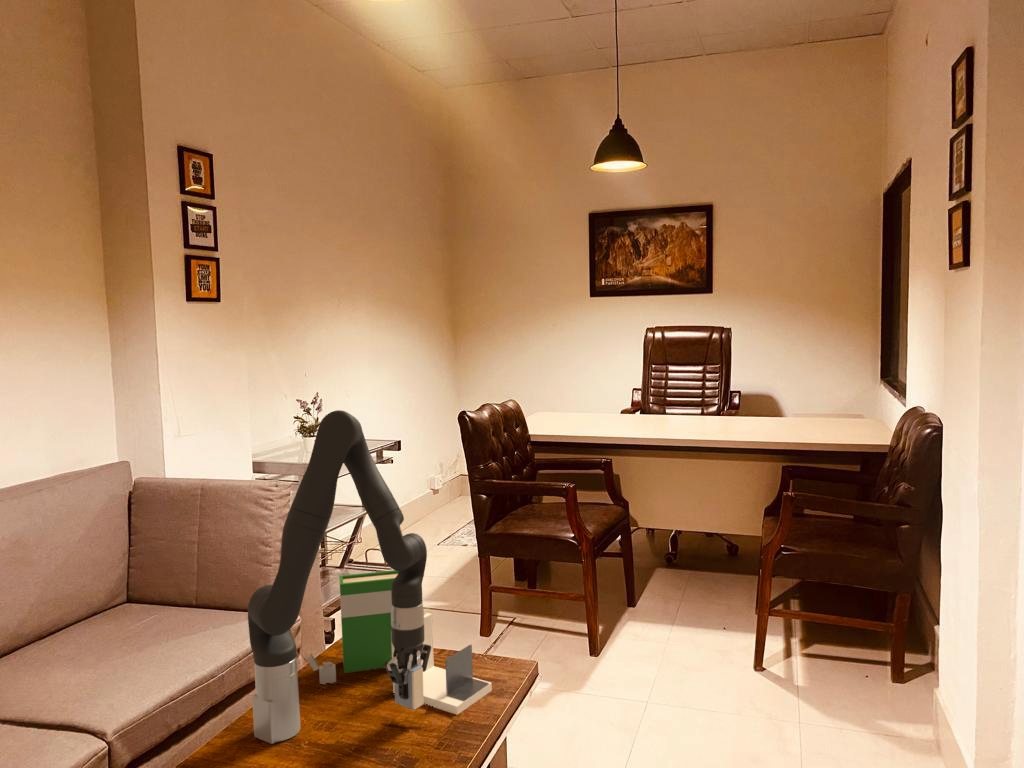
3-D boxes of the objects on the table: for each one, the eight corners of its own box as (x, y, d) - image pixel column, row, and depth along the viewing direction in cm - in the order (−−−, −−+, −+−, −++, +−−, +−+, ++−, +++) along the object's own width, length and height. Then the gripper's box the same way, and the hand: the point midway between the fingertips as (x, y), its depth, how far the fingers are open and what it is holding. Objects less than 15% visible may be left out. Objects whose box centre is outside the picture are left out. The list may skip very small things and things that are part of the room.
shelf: (457, 714, 185) (455, 648, 184) (393, 694, 197) (390, 631, 195) (491, 690, 197) (490, 628, 196) (429, 672, 208) (427, 612, 207)
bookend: (464, 701, 188) (463, 664, 187) (446, 695, 191) (445, 659, 190) (489, 684, 196) (487, 649, 195) (471, 679, 199) (470, 644, 198)
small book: (414, 710, 180) (413, 671, 179) (394, 703, 184) (393, 665, 183) (423, 704, 183) (422, 666, 182) (404, 697, 186) (403, 660, 185)
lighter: (336, 679, 205) (334, 649, 205) (336, 682, 204) (334, 652, 203) (307, 683, 204) (306, 653, 203) (307, 686, 202) (306, 656, 201)
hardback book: (408, 653, 220) (404, 569, 218) (411, 664, 213) (407, 577, 211) (343, 661, 216) (339, 575, 214) (344, 673, 209) (340, 584, 207)
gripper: (398, 636, 174) (400, 712, 175) (440, 616, 185) (441, 687, 186) (373, 628, 178) (376, 703, 179) (415, 609, 189) (417, 679, 191)
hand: (409, 694), depth 183 cm, fingers closed on small book, 3 cm apart
